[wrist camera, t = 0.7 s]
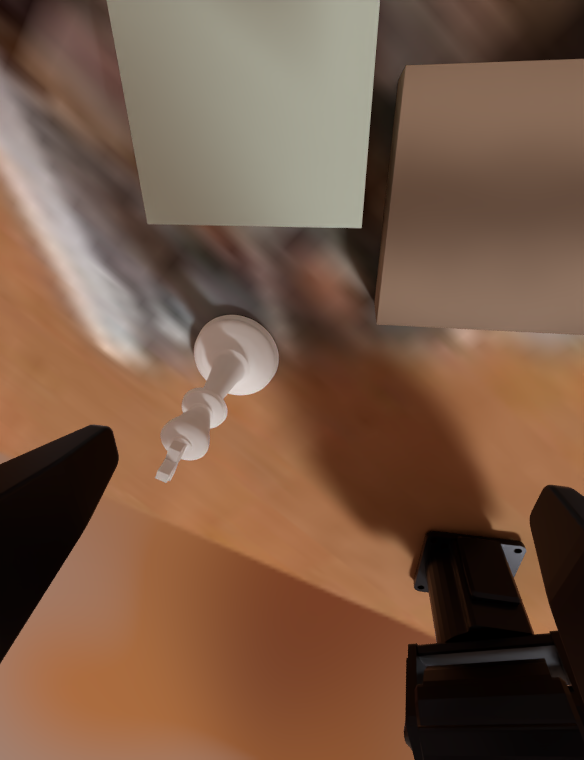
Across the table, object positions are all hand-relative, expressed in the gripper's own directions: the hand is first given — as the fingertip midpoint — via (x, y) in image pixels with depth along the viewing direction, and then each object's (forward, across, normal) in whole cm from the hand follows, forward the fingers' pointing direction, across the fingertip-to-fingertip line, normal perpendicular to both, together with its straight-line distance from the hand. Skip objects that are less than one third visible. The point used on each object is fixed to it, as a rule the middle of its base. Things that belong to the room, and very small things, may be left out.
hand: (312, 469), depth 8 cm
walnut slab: (+13, -6, -4) cm, 15 cm away
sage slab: (+13, +4, -8) cm, 16 cm away
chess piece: (+14, +6, +4) cm, 15 cm away
